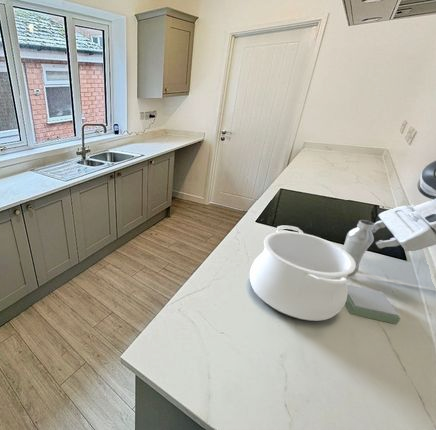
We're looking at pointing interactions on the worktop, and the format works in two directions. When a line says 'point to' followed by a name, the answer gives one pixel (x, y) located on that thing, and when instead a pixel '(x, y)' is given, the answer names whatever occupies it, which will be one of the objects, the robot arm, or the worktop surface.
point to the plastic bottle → (359, 241)
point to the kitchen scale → (370, 304)
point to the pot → (302, 275)
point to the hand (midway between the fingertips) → (372, 237)
